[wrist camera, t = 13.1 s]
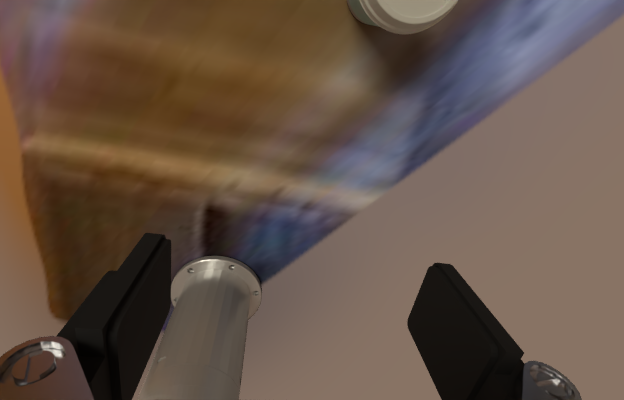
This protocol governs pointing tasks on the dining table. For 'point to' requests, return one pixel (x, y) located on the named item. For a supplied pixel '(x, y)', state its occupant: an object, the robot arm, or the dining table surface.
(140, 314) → the robot arm
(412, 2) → the coffee cup
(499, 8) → the dining table surface
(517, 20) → the dining table surface
